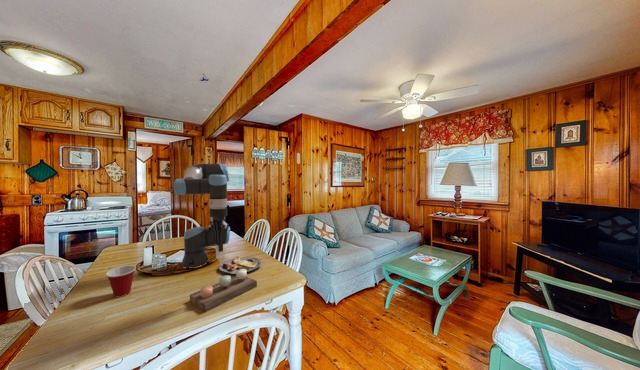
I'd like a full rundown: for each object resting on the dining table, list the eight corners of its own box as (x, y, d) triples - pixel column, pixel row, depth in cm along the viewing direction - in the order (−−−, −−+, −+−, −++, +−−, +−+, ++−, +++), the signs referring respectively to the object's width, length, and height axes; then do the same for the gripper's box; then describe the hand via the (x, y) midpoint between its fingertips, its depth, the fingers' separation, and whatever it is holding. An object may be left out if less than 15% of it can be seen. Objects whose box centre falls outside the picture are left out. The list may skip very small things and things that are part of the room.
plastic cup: (102, 303, 99) (101, 276, 98) (111, 291, 108) (110, 267, 108) (133, 296, 104) (132, 271, 103) (139, 286, 113) (138, 263, 113)
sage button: (217, 284, 106) (217, 278, 105) (227, 280, 110) (227, 274, 110) (223, 287, 103) (223, 281, 103) (233, 283, 107) (232, 277, 107)
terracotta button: (198, 295, 98) (198, 289, 98) (209, 291, 102) (209, 284, 102) (203, 299, 95) (203, 292, 95) (215, 294, 100) (214, 287, 99)
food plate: (210, 270, 133) (210, 264, 133) (240, 258, 153) (241, 253, 153) (240, 280, 121) (240, 274, 121) (268, 265, 142) (269, 260, 142)
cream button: (234, 277, 113) (234, 271, 113) (242, 273, 117) (242, 268, 117) (240, 280, 110) (240, 274, 110) (248, 276, 114) (248, 270, 114)
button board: (190, 301, 100) (189, 294, 100) (240, 279, 121) (240, 273, 121) (205, 312, 92) (205, 305, 92) (256, 286, 113) (256, 280, 113)
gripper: (203, 207, 104) (204, 257, 105) (217, 210, 96) (219, 263, 97) (219, 205, 110) (220, 252, 111) (233, 208, 102) (234, 258, 103)
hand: (219, 257), depth 104 cm, fingers closed
